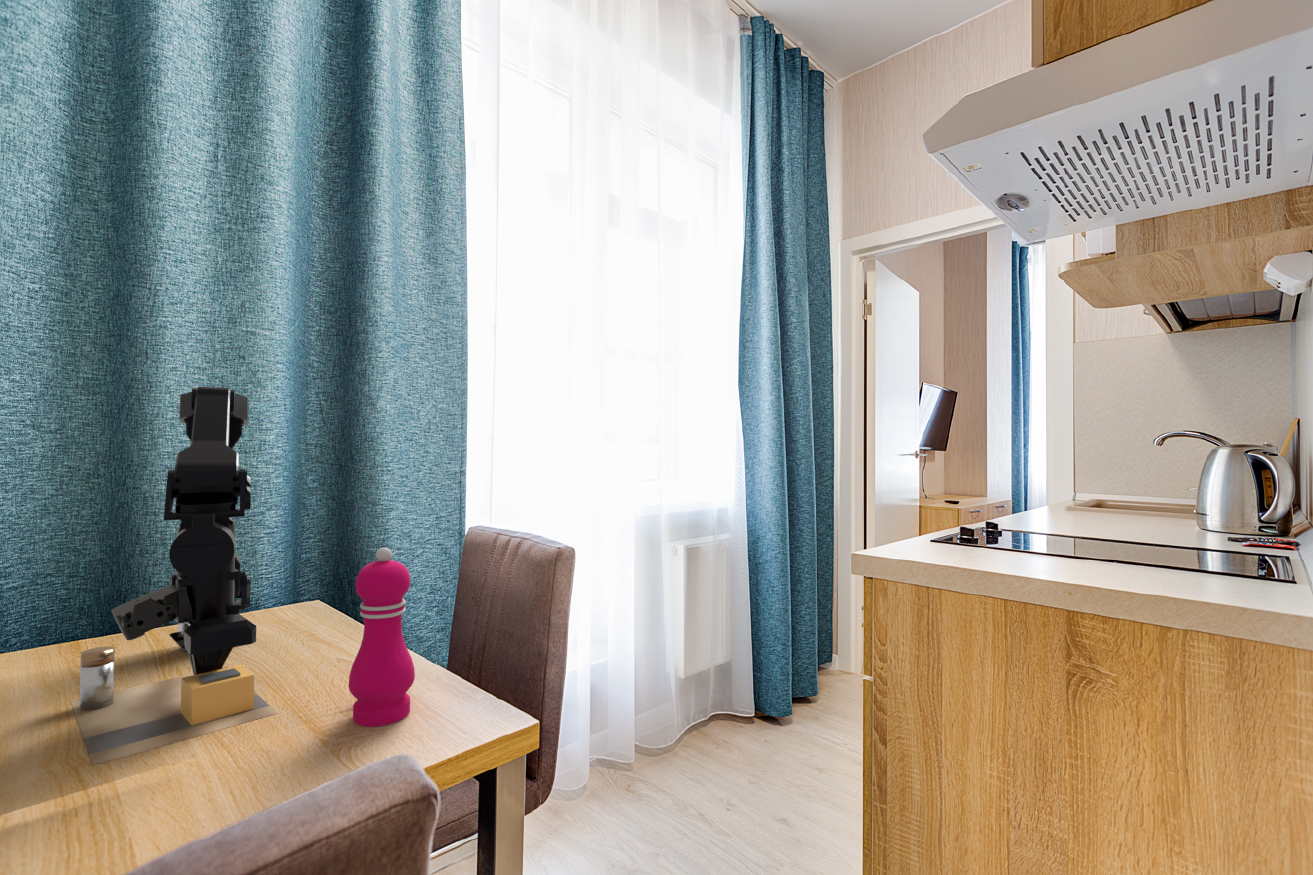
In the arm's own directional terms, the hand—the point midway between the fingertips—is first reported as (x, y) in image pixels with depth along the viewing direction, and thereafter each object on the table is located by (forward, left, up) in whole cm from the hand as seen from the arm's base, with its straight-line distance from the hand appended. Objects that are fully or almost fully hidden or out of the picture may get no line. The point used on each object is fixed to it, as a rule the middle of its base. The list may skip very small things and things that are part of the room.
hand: (204, 691), depth 75 cm
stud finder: (0, +4, -1) cm, 4 cm away
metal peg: (+9, -8, -1) cm, 12 cm away
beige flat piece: (+3, -1, -2) cm, 4 cm away
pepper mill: (-14, +17, -2) cm, 22 cm away
